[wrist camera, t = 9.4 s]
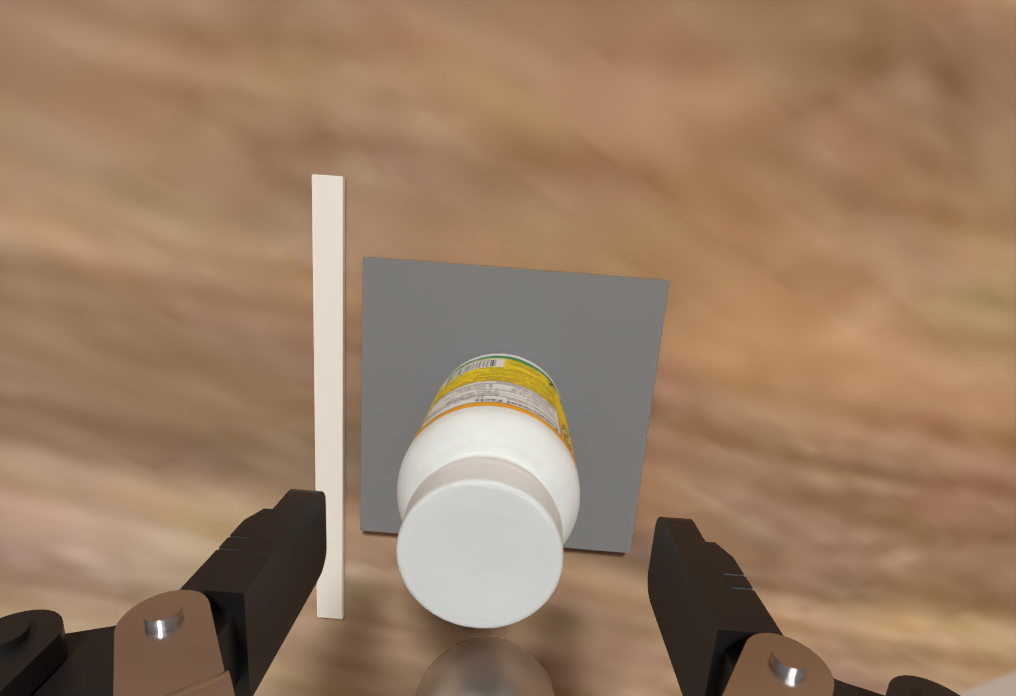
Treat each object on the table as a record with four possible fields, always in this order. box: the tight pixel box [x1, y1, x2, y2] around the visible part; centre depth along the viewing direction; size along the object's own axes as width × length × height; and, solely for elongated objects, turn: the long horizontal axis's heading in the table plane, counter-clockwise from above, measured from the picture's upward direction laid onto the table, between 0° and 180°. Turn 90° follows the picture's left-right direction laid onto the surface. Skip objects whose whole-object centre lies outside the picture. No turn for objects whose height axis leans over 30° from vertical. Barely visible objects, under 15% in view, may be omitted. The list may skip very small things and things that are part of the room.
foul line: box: [312, 174, 346, 619], centre depth 22 cm, size 20×1×1 cm, turn 176°
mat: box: [360, 257, 670, 553], centre depth 22 cm, size 12×12×1 cm
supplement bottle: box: [397, 354, 580, 628], centre depth 17 cm, size 5×5×10 cm
